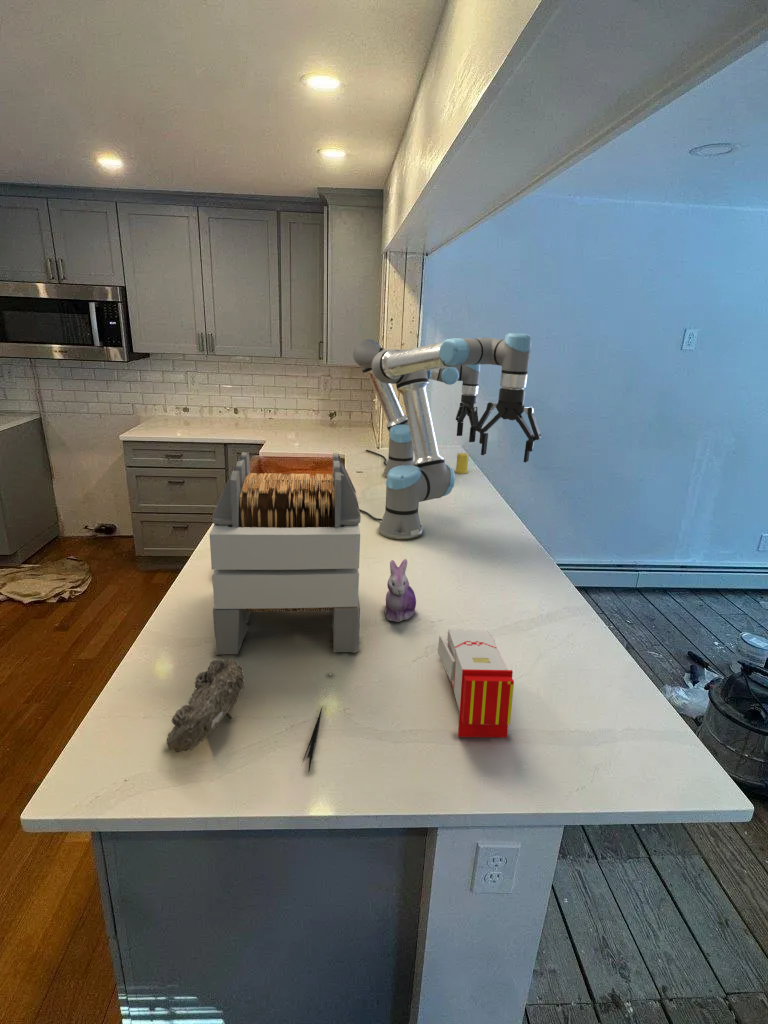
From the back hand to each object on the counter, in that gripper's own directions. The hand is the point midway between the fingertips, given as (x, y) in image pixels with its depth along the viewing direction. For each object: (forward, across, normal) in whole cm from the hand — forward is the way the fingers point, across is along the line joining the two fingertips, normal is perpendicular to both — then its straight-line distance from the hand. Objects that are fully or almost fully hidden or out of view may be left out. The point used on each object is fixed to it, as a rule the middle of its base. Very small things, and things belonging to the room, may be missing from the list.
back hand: (465, 438), depth 273 cm
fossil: (+17, -149, +125) cm, 195 cm away
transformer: (+17, -116, +104) cm, 157 cm away
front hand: (-16, -93, +34) cm, 100 cm away
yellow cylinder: (+17, +1, 0) cm, 17 cm away
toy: (+17, -155, +74) cm, 172 cm away
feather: (+17, -155, +106) cm, 188 cm away
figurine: (+17, -121, +77) cm, 145 cm away
